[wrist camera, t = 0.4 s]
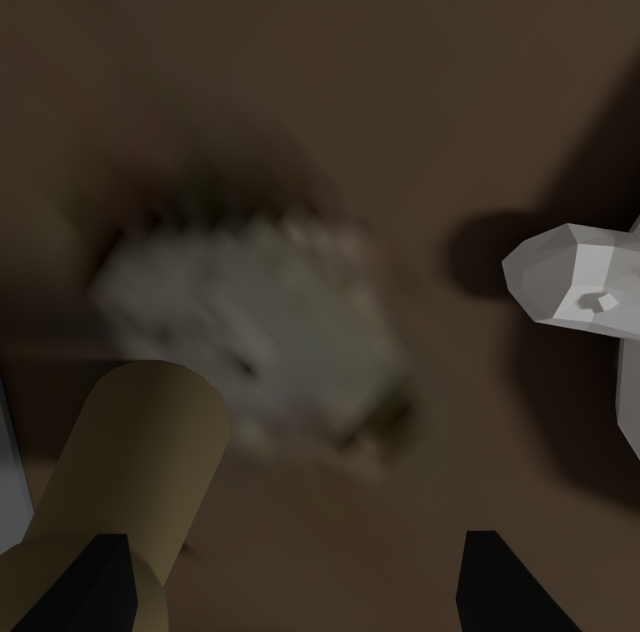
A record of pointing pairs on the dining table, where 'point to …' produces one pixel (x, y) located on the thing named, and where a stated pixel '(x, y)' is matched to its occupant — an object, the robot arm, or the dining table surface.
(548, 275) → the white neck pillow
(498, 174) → the dining table surface
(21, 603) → the cork
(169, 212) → the dining table surface
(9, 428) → the mat
